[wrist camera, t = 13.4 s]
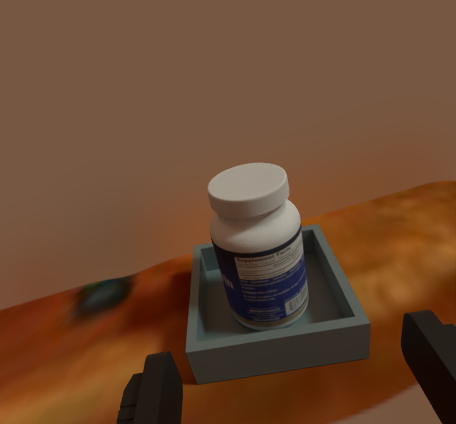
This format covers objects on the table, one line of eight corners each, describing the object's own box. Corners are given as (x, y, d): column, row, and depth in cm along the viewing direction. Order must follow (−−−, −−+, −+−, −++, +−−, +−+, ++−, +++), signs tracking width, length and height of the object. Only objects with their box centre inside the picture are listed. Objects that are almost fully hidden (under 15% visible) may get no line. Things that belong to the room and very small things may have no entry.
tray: (197, 384, 20) (185, 352, 19) (201, 273, 29) (193, 245, 28) (368, 358, 20) (370, 323, 18) (319, 252, 29) (317, 223, 27)
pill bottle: (228, 282, 27) (200, 169, 22) (299, 270, 26) (286, 152, 22) (232, 341, 22) (196, 211, 17) (319, 327, 21) (307, 190, 17)
